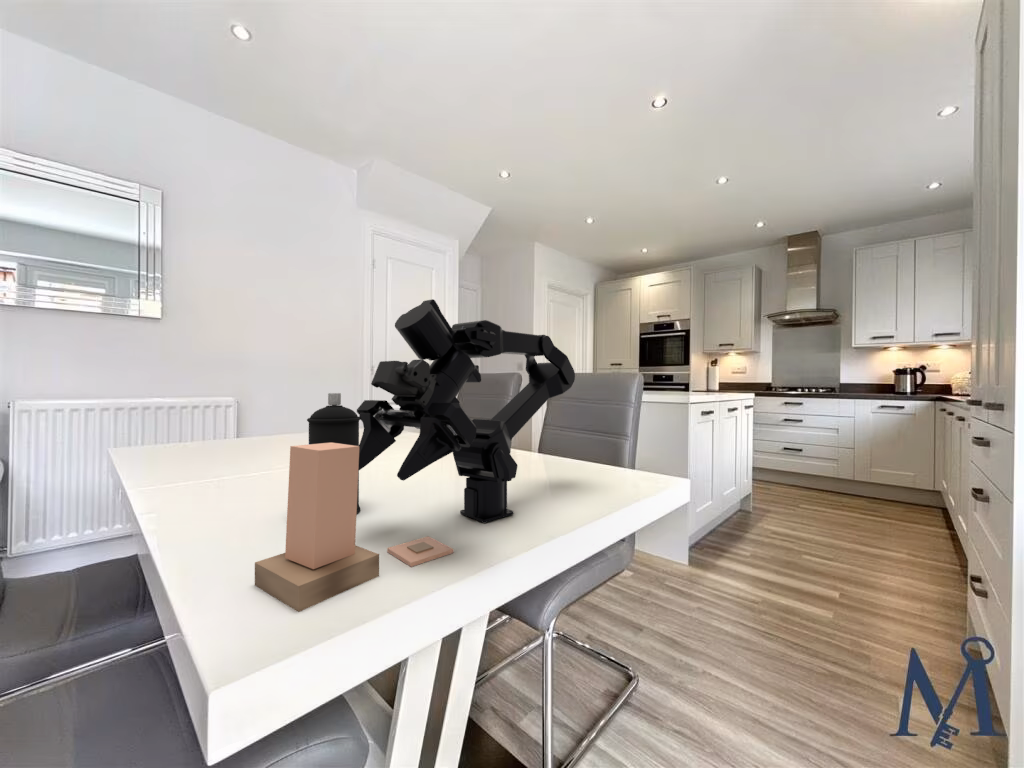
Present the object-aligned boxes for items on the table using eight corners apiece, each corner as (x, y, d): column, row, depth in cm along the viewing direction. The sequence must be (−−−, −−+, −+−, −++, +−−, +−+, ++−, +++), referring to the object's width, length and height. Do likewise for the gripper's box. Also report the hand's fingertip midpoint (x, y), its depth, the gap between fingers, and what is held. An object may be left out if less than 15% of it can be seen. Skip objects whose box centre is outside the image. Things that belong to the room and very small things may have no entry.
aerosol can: (371, 510, 70) (371, 392, 70) (327, 524, 63) (328, 393, 63) (339, 503, 74) (339, 392, 74) (295, 516, 67) (296, 393, 67)
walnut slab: (333, 561, 51) (333, 537, 51) (379, 581, 46) (379, 554, 46) (254, 590, 44) (254, 562, 44) (298, 618, 39) (298, 586, 39)
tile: (428, 539, 57) (428, 534, 57) (453, 552, 52) (453, 547, 52) (387, 551, 53) (387, 546, 53) (411, 566, 48) (411, 560, 48)
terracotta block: (326, 544, 49) (331, 442, 49) (354, 553, 46) (359, 446, 46) (285, 557, 44) (290, 446, 45) (313, 569, 42) (318, 450, 42)
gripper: (368, 345, 61) (291, 426, 52) (460, 335, 49) (383, 438, 41) (411, 397, 67) (349, 477, 58) (501, 399, 56) (442, 499, 47)
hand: (376, 473), depth 51 cm, fingers open, 9 cm apart
